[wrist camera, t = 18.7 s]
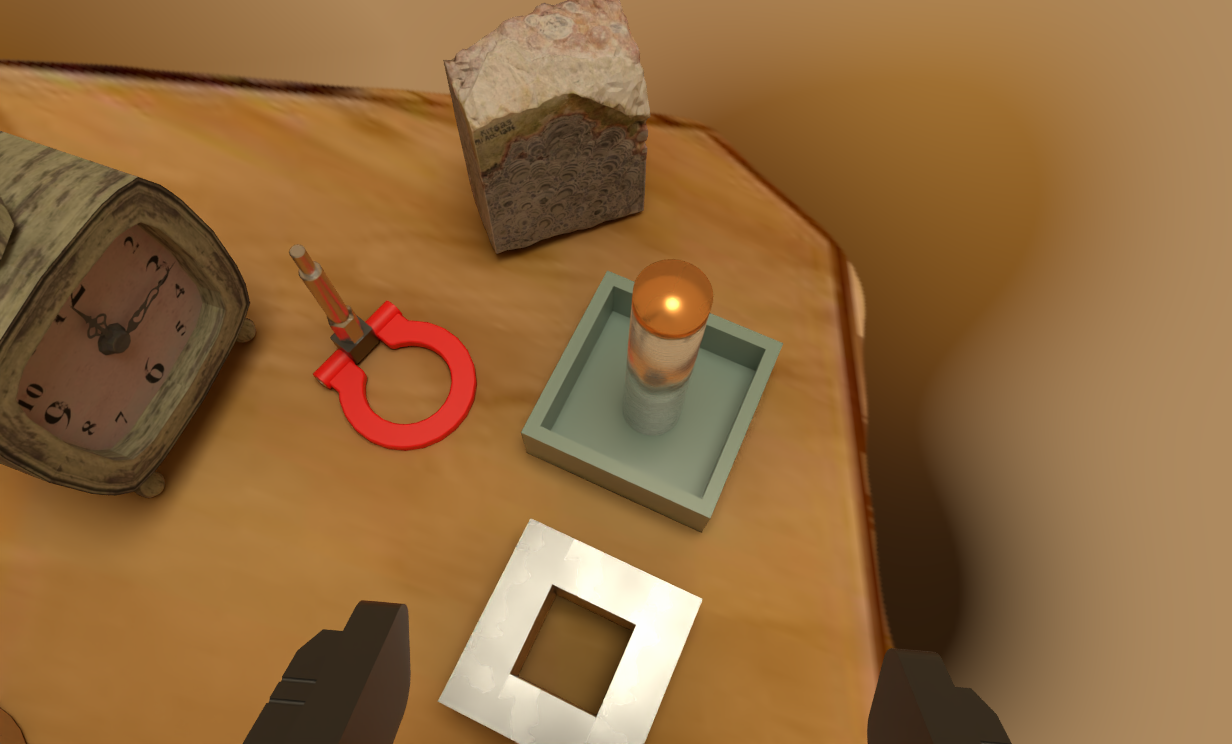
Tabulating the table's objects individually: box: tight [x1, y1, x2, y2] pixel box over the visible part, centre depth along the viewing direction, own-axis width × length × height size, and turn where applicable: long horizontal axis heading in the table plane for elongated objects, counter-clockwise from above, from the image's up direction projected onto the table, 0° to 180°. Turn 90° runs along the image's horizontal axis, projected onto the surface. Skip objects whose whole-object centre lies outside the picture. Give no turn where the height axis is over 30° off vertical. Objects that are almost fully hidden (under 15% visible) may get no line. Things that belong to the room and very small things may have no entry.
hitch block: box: [438, 518, 702, 744], centre depth 42 cm, size 10×10×4 cm
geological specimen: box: [443, 0, 650, 254], centre depth 48 cm, size 11×6×15 cm, turn 112°
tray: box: [521, 271, 783, 532], centre depth 48 cm, size 12×12×4 cm
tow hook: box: [289, 245, 477, 451], centre depth 44 cm, size 8×13×9 cm
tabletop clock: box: [0, 131, 256, 498], centre depth 38 cm, size 14×9×25 cm, turn 160°
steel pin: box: [623, 259, 713, 436], centre depth 42 cm, size 4×4×15 cm
